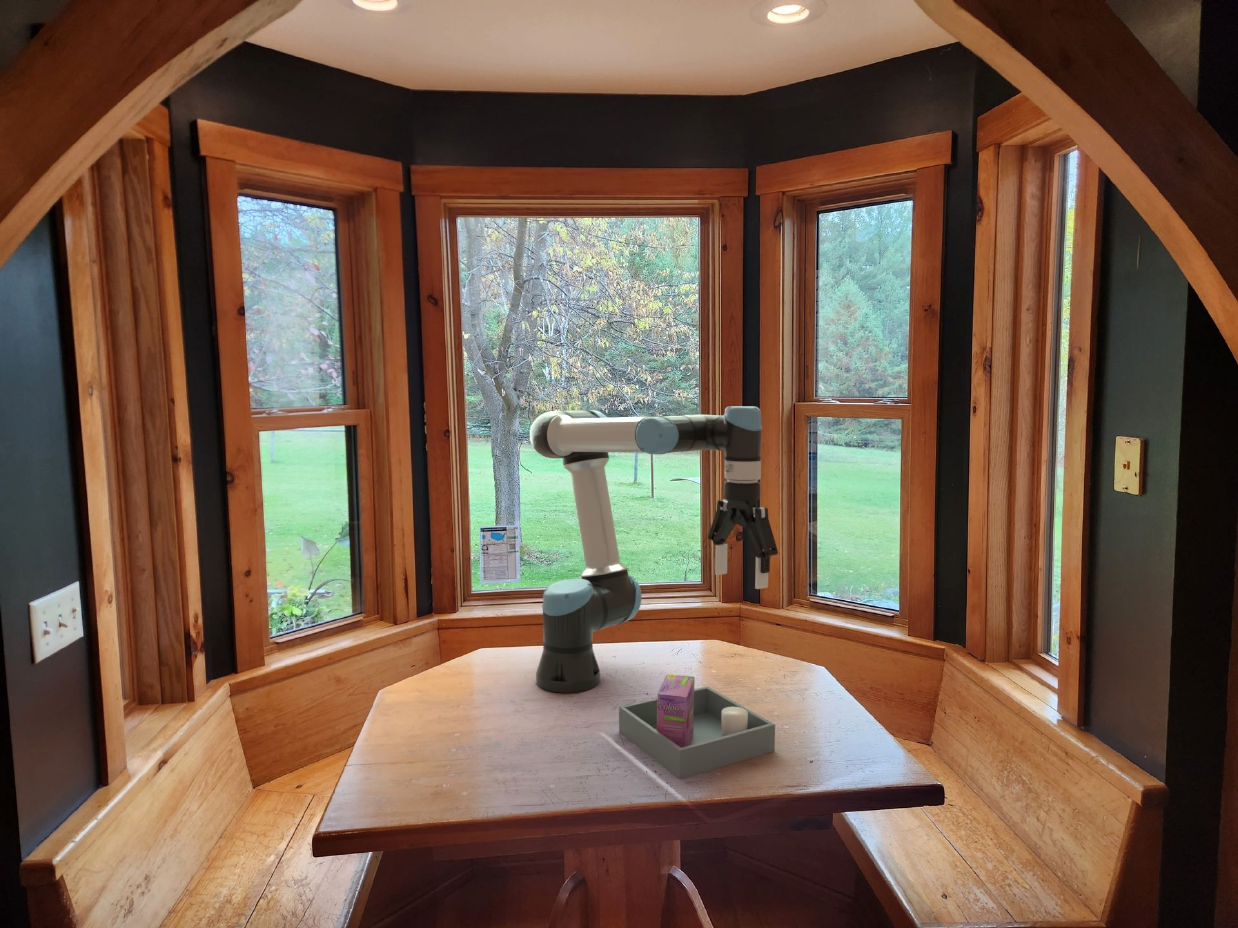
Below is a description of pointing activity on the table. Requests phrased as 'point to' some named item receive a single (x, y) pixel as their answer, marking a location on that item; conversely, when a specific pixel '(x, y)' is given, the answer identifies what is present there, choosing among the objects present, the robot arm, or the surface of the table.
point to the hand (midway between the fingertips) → (740, 580)
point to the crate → (697, 735)
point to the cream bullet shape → (733, 720)
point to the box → (676, 709)
